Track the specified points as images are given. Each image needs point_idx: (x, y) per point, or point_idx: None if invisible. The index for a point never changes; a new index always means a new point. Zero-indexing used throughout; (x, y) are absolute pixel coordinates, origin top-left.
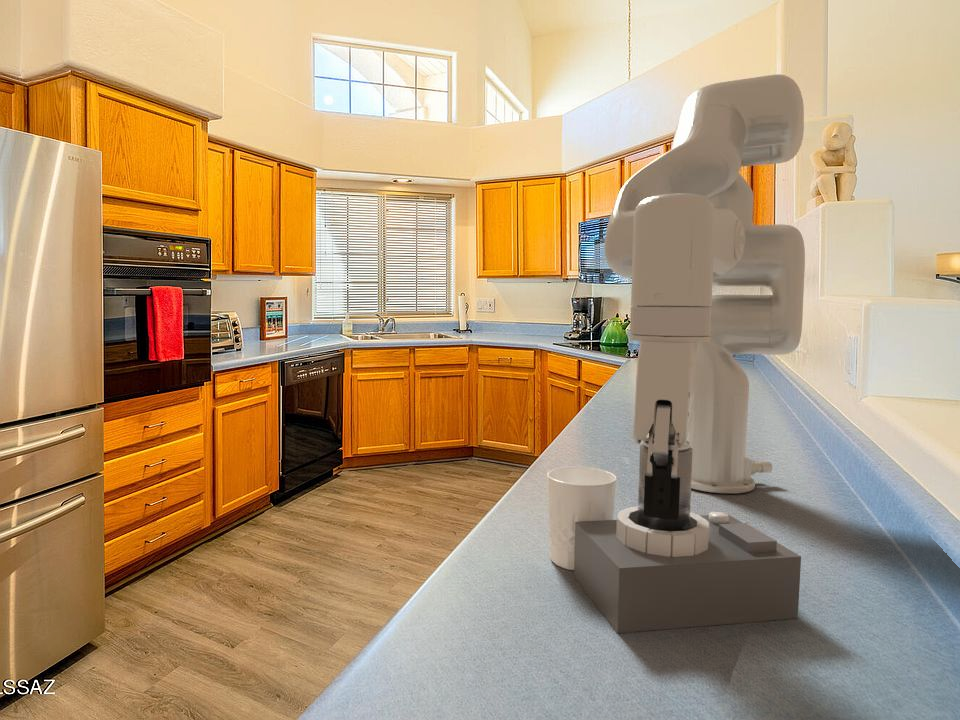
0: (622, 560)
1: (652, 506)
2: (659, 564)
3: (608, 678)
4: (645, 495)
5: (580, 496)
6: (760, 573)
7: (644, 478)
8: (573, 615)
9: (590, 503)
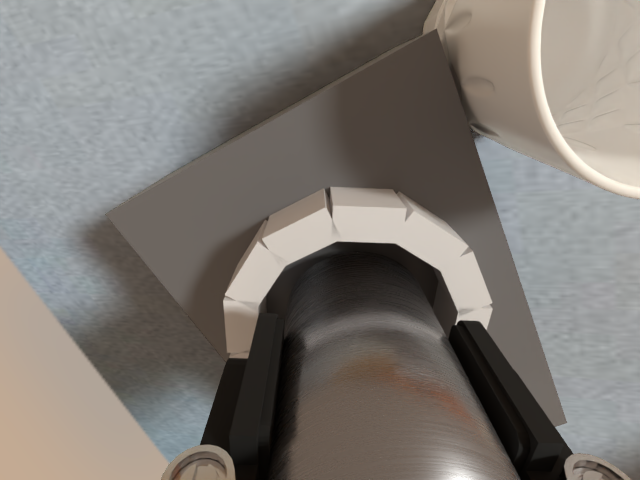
0: (159, 217)
1: (226, 362)
2: (180, 297)
3: (27, 172)
4: (250, 361)
5: (499, 32)
6: None
7: (304, 400)
8: (199, 80)
9: (490, 84)
